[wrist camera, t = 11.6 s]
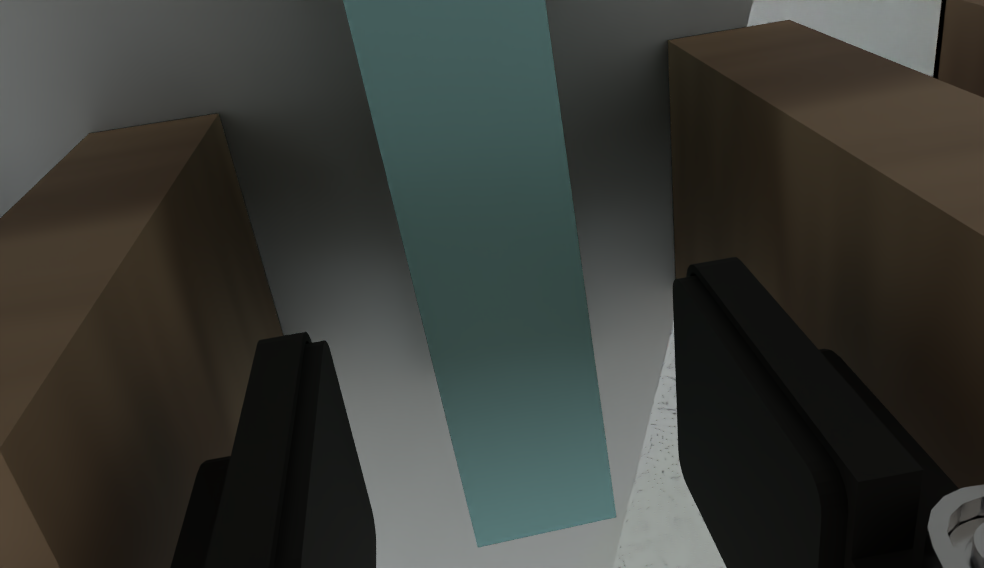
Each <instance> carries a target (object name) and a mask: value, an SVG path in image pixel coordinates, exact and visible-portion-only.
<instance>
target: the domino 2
mask: <svg viewBox="0 0 984 568" xmlns="http://www.w3.org/2000/svg"><path fill="white" fill-rule="evenodd" d="M343 2H344V7H345V11H346V15H347V19H348V23H349V27H350V31H351V35H352V39H353V43H354V47H355V51H356V55H357V59H358V63H359V67H360V71H361V75H362V80H363V84H364V88H365V92H366V96H367V100H368V104H369V108H370V112H371V116H372V120H373V124H374V128H375V132H376V136H377V140H378V144H379V148H380V152H381V157H382V161H383V165H384V169H385V173H386V177H387V181H388V185H389V189H390V193H391V197H392V201H393V205H394V209H395V213H396V217H397V221H398V225H399V229H400V234H401V238H402V242H403V246H404V250H405V254H406V258H407V262H408V266H409V270H410V274H411V278H412V282H413V286H414V290H415V294H416V298H417V302H418V307H419V311H420V315H421V319H422V323H423V327H424V331H425V335H426V339H427V343H428V347H429V351H430V355H431V359H432V363H433V367H434V371H435V375H436V379H437V384H438V388H439V392H440V396H441V400H442V404H443V408H444V412H445V416H446V420H447V424H448V428H449V432H450V436H451V440H452V444H453V448H454V452H455V456H456V461H457V465H458V469H459V473H460V477H461V481H462V485H463V489H464V493H465V497H466V501H467V505H468V509H469V513H470V517H471V521H472V525H473V529H474V533H475V538H476V542H477V546H478V547H482V546H487V545H491V544H496V543H501V542H505V541H510V540H514V539H519V538H523V537H528V536H533V535H537V534H542V533H546V532H551V531H555V530H560V529H565V528H569V527H574V526H578V525H583V524H587V523H592V522H597V521H601V520H606V519H610V518H615V517H616V511H615V504H614V497H613V489H612V482H611V475H610V468H609V460H608V453H607V446H606V438H605V431H604V424H603V417H602V409H601V402H600V395H599V388H598V380H597V373H596V366H595V359H594V351H593V344H592V337H591V329H590V322H589V315H588V308H587V300H586V293H585V286H584V279H583V271H582V264H581V257H580V250H579V242H578V235H577V228H576V220H575V213H574V206H573V199H572V191H571V184H570V177H569V170H568V162H567V155H566V148H565V141H564V133H563V126H562V119H561V111H560V104H559V97H558V90H557V82H556V75H555V68H554V61H553V53H552V46H551V39H550V31H549V24H548V17H547V10H546V2H545V0H343Z"/></svg>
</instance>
